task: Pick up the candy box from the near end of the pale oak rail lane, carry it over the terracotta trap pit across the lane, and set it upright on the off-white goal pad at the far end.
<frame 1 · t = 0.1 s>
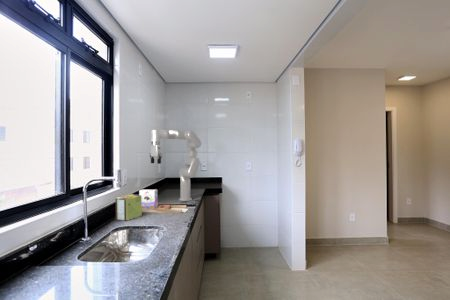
hand: (155, 163, 222), 37 cm above the worktop, tool pointing down, fingers open, 9 cm apart
trap pit: (163, 210, 208), on the worktop
candy box: (148, 210, 210), on the worktop
goal pad: (178, 210, 207), on the worktop
rail lane: (161, 210, 209), on the worktop
protein box: (129, 217, 188), on the worktop
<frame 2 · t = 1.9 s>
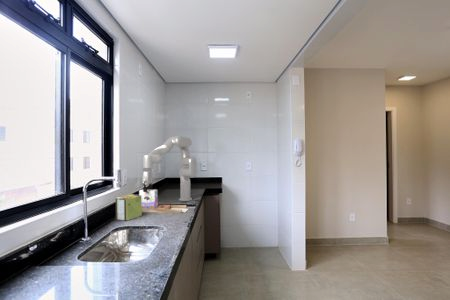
hand: (147, 190, 209), 16 cm above the worktop, tool pointing down, fingers open, 9 cm apart
nothing on the worktop moved.
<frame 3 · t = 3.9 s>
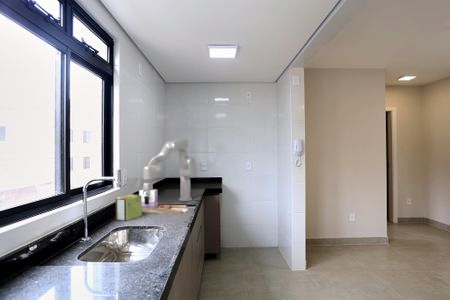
hand: (148, 202, 210), 6 cm above the worktop, tool pointing down, fingers closed on candy box, 5 cm apart
candy box: (148, 210, 210), on the worktop, touching gripper
everything else where it was.
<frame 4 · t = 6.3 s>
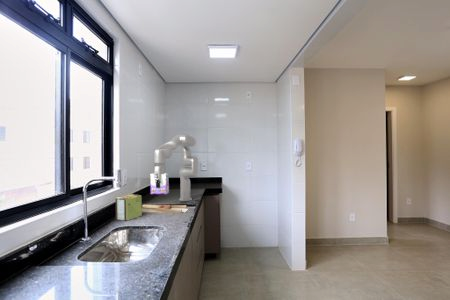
hand: (159, 186, 209), 19 cm above the worktop, tool pointing down, fingers closed on candy box, 5 cm apart
candy box: (159, 193, 209), point 13 cm above the worktop, touching gripper
everything else where it was.
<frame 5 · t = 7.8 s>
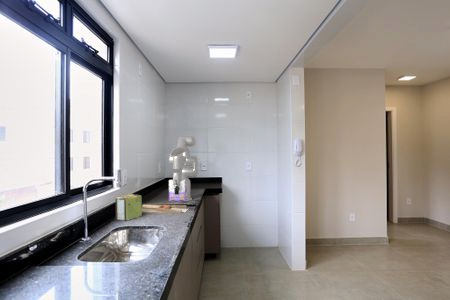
hand: (177, 193, 206), 14 cm above the worktop, tool pointing down, fingers closed on candy box, 5 cm apart
candy box: (177, 200, 206), point 8 cm above the worktop, touching gripper
everything else where it was.
when the fingers open (7 cm above the worktop, at t = 9.2 s): candy box stays where it is, resting on goal pad.
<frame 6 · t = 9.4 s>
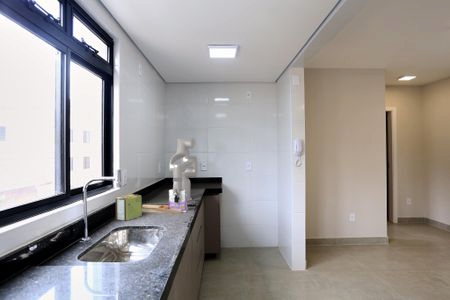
hand: (178, 201, 207), 7 cm above the worktop, tool pointing down, fingers open, 7 cm apart
candy box: (178, 210, 207), resting on goal pad
everything else where it was.
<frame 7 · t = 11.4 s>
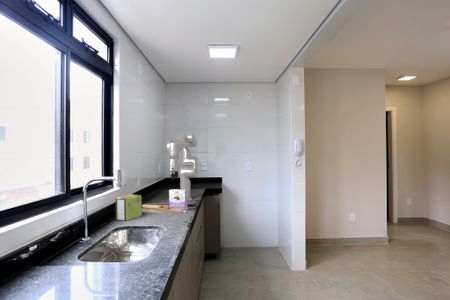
hand: (174, 178, 211), 26 cm above the worktop, tool pointing down, fingers open, 9 cm apart
nothing on the worktop moved.
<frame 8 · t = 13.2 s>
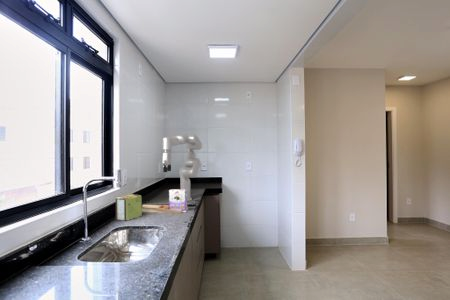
hand: (167, 171, 220), 30 cm above the worktop, tool pointing down, fingers open, 9 cm apart
nothing on the worktop moved.
at the end: candy box inside the target area on the goal pad (0.4 cm from its centre), point 0.2 cm above the goal pad's base; candy box tilted 0°; the gripper is holding nothing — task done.
